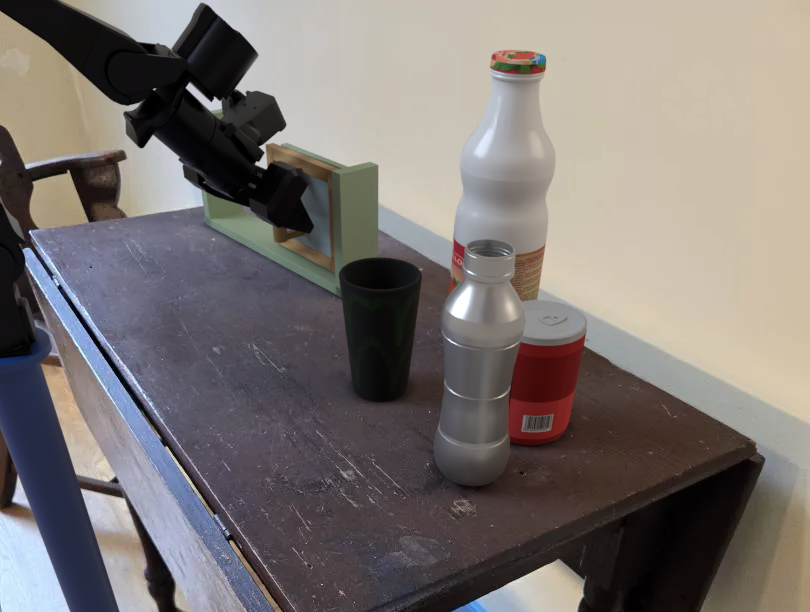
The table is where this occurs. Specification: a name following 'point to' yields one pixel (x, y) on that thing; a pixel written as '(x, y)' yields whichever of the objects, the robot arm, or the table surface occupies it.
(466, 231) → the fruit juice
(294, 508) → the table surface
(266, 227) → the window frame
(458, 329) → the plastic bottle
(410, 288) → the cup
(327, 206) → the sash
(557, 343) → the canned food
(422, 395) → the table surface
